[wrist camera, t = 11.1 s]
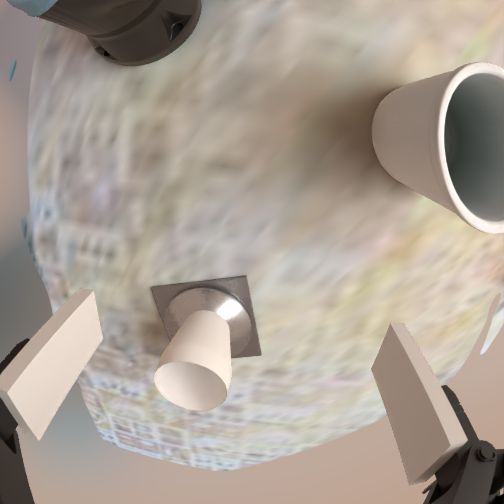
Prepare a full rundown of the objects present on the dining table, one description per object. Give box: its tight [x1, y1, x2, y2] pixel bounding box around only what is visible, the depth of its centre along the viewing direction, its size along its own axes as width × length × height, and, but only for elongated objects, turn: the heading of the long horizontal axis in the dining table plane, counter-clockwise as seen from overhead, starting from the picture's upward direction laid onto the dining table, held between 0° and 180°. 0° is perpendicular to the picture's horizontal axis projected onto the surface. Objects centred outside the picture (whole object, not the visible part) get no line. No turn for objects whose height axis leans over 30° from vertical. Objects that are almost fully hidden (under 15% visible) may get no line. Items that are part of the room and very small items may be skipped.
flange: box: [151, 276, 261, 358], centre depth 43 cm, size 14×14×2 cm
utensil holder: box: [371, 62, 504, 234], centre depth 24 cm, size 15×15×18 cm
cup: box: [154, 310, 232, 410], centre depth 37 cm, size 9×9×12 cm
